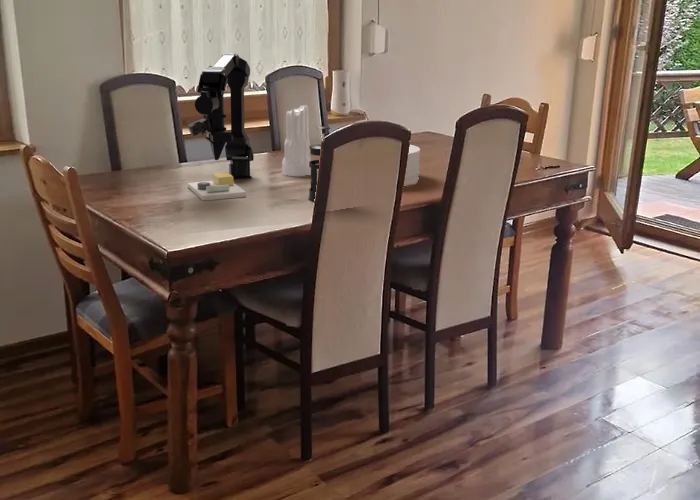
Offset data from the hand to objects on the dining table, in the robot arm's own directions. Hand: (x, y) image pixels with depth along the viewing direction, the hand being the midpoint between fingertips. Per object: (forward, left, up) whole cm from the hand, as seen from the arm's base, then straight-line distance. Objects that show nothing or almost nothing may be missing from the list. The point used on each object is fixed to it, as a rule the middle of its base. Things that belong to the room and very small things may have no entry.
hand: (216, 159), depth 249 cm
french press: (-29, +20, -11) cm, 37 cm away
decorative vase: (-35, -21, -11) cm, 42 cm away
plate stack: (-59, -2, -11) cm, 60 cm away
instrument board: (0, -2, -11) cm, 11 cm away
